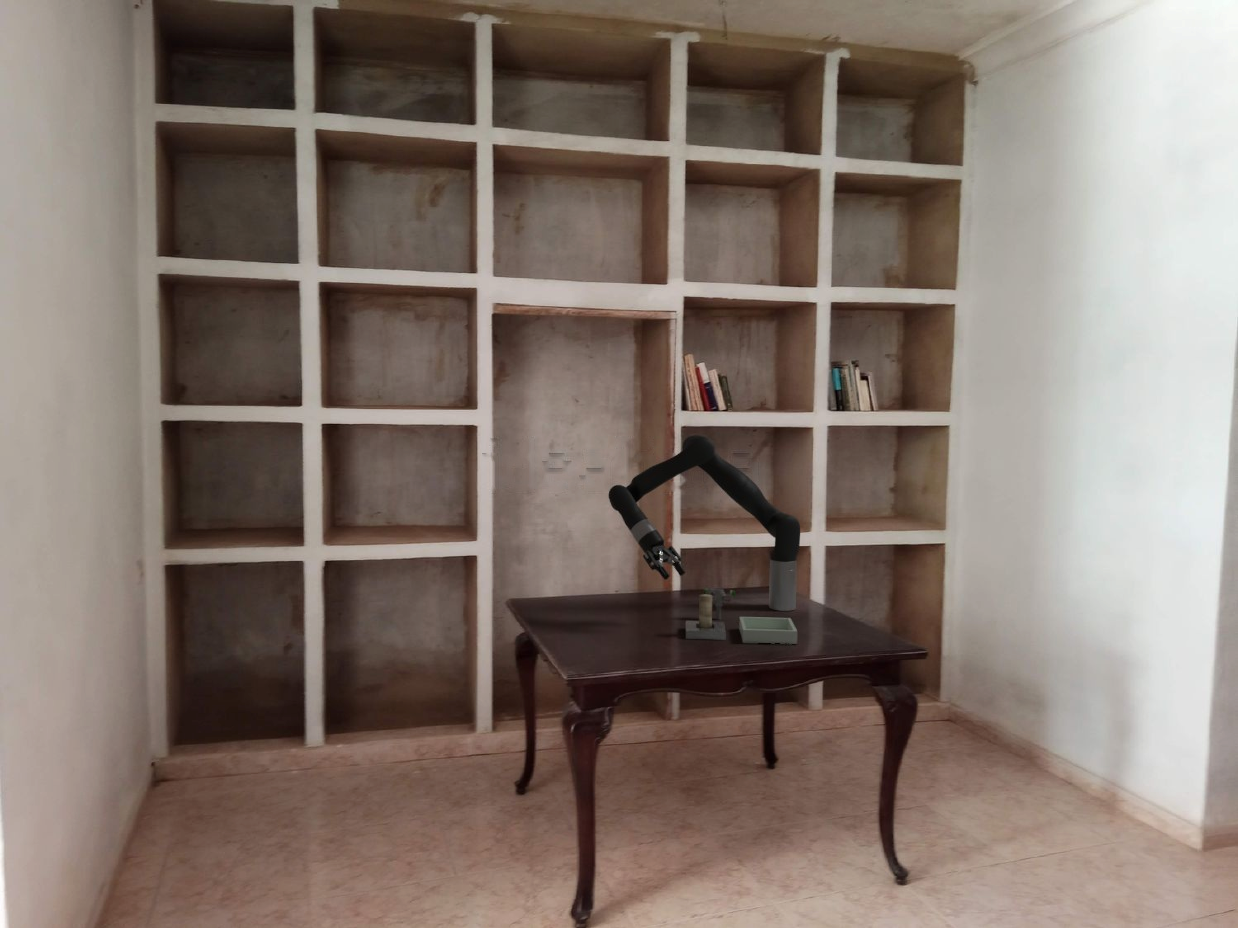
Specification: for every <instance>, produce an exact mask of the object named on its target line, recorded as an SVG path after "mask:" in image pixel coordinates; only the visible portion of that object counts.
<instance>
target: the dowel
mask: <svg viewBox="0 0 1238 928" xmlns="http://www.w3.org/2000/svg"><path fill="white" fill-rule="evenodd" d="M712 596H713V595H712V594H710V595H706V594H699V595H698V599H699V602H698V621H699V628H709V629H712V621H713V619H712V618H713V601H712Z"/></svg>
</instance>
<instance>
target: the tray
mask: <svg viewBox="0 0 1238 928" xmlns="http://www.w3.org/2000/svg"><path fill="white" fill-rule="evenodd" d="M738 624H739V625H738V626H739V627H738V630H739V633H740V638H741V641H742V644H758V643H771V644H770V645H776V644H775V643H780V644H779V645H792V644H797V645H798V629H797V628H796V625H795V624H794V622H793V620H792V619H791V617H770V616H769V617H761V616H760V617H758V616H739V623H738ZM785 643H787V644H785ZM788 643H789V644H788Z"/></svg>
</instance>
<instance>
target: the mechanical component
mask: <svg viewBox="0 0 1238 928" xmlns="http://www.w3.org/2000/svg"><path fill="white" fill-rule="evenodd" d="M702 593H703V594H706V595H711V594H712V593H713V595H712V602H714V603H715V604H714V605H715V608H716V615H715V616H716V620H717V619H720V620H721V619H722V607H724V605H723V603H730V602H732V600H733V597H735V594H736V591H735V590H733V589H731V590H729V592H728V593H726V592H725V591H724V589H723V588H711V587H707V588H704V589H703V592H702ZM703 594H702V595H703ZM724 597H725V598H724ZM726 597H727V598H726Z"/></svg>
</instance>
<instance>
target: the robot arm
mask: <svg viewBox="0 0 1238 928" xmlns="http://www.w3.org/2000/svg"><path fill="white" fill-rule="evenodd" d="M715 449H716V448H715V444H714V442H713V441H712V440H711V439H710V438H708V437H706V436H703V435H699V434H695V435H693V434H692V435H690V436H687V437H686V438H685V439H684V441H683V443H682V451H680V452H679V453H677V454H675V455H674V456H672V457H670V458H668V459H666V460H664V461H661V462H659V463H657V464H655V465H652V466H650V467H648V468H647V469H645V470H643V471H642V472H640V473H638V474H636V476H634V477H633V478H632V479H631V481H630V483H629V485H627V486H624V485H622V484H616V485H613V486H611V488H610V489H609V492H608V500H609V503H610V506H611V507H612V509H614V510H615V511H617V512H618V513H619V515H620V516H621V518H622V521H623V522H624V524H625V526H626V527H627V528H628V531H630V533H631V534H632V536H633V538H634V540H635V542H636V543H637V544H638V546H639V547H640V549H641V550H642V552H644V554H643V555H642V558H643V559H644V561H645V562H646V564H647V565H648V567H649V568H650V570H651V571H654V570H655V571H656V572H658V573H659V574H660V576H661V577H662V579H663V580H664V581H665V580H668V579H669V578H670V573H669V572H668V571H667V569H666V568H665V566H663V565H664V564H663V563H666V564H667V565H671V566H673V568H674V569H675V571H676V572H677V574H678V575H679V576H683V575H684V574H685V573H686V570H685V569H684V567H683V565H682V563H681V561H682V560H683V559H682V557H681V555H680V554H679V553H678V552H677V550H676V549H675V548H674V547H673V545H670V546H669V547H666V546H665V539H664V538H663V536H662V535H661V533H659V531H658V530H657V529H656V527H655V526H654V524H653V523H652V522H651V521H650V520H649V518H648V517H647V516H646V514H645V513H644V512H643V510H642V509H641V507H640V506H639V505H638V502H639V501H640V500H641V499H642V498H643V497H644V496H646V495H647V494H649V493H650V492H652V491H654V490H655V489H657V488H659V487H660V486H662V485H663V484H665V483H667V482H668V481H670V480H672V479H673V478H675V477H677V476H679V475H680V474H682V473H685V472H686V471H688V470H691V469H692V468H697V467H698V468H700V469H701V470H702V471H704V473H706V474H707V475H709V477H710V478H711V479H712V481H714V482H715V483H716V485H718V487H719V488H720V489H722V491H723V492H724V493H725V494H726V495H727V496H729V497H730V499H732V500H733V501H734V502H735V503H736V504H738V505H739V506H740V507H741V508H743V509H744V510H745V511H746V512H748V513H749V514H750V515H752V516H753V517H754V518H755V519H756V520H757V521H758V522H759V523H760V525H761V526H762V527H763V528H764V529H765V530H766V531H767V532H768V534H769V535H770V536H771V537H773V538H774V539H775V540H774V547H773V549H772V550H771V551H770V552H769V582H768V583H769V586H768V587H769V589H768V593H769V594H768V608H769V609H770V610H774V611H775V610H776V611H779V612H780V611H782V612H788V611H794V610H796V602H797V559H798V554H799V552H800V546H801V545H800V542H801V525H800V521H799V520H798V519H797V518H796V517H795V516H793V515H791V514H788V513H784V512H782V511H781V510H779V509H778V508H776V507H775V506H774V505H773V504H771V503H770V502H769V500H768V499H766V497H765V496H764V493H763V492H762V491H761V489H760V488H759V486H758V485H757V484H756V483H755V482H754V481H753V480H752V479H751V478H750V477H749V476H747V475H746V474H745V473H744V472H743V471H741V470H740V469H739V468H737V467H736V466H735V465H733V464H731V463H729V462H728V461H726V460H725V459H724V458H722V457H721V456H720V455H719V454H718V453H717V452H716V451H715Z"/></svg>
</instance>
